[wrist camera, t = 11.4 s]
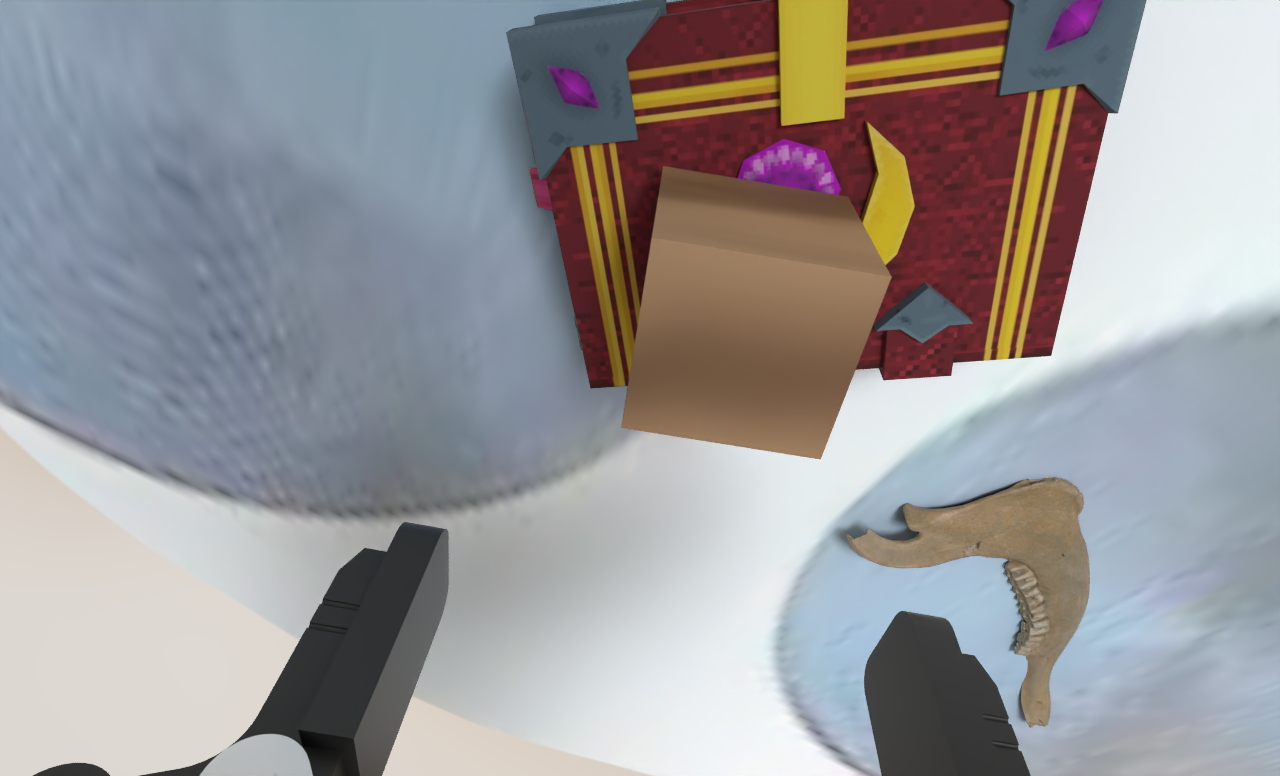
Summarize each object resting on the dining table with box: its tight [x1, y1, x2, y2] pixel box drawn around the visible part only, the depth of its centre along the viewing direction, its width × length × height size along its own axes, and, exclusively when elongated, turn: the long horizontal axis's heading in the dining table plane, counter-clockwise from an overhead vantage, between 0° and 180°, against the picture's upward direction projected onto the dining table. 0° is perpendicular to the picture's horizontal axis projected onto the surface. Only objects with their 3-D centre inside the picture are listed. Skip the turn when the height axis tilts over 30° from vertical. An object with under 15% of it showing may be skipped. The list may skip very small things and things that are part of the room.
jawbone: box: [847, 477, 1090, 727], centre depth 33 cm, size 9×20×2 cm, turn 41°
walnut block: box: [621, 166, 891, 459], centre depth 17 cm, size 5×5×5 cm
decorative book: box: [506, 0, 1146, 388], centre depth 21 cm, size 11×16×5 cm
